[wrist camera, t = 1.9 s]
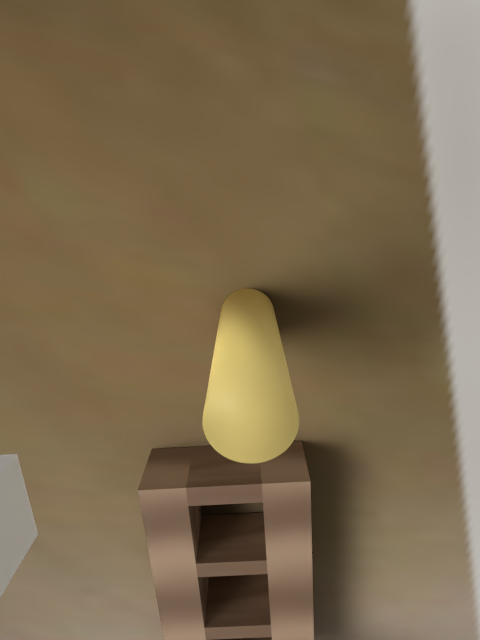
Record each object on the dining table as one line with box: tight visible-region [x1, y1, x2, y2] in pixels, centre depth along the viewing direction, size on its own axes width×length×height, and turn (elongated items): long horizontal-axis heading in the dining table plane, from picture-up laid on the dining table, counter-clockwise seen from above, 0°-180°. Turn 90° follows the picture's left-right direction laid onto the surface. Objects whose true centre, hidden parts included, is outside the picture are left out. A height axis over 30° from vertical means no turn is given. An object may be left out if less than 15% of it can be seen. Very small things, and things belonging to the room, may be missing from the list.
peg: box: [203, 288, 299, 463], centre depth 20 cm, size 3×3×12 cm
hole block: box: [138, 441, 314, 640], centre depth 29 cm, size 18×10×4 cm, turn 4°
